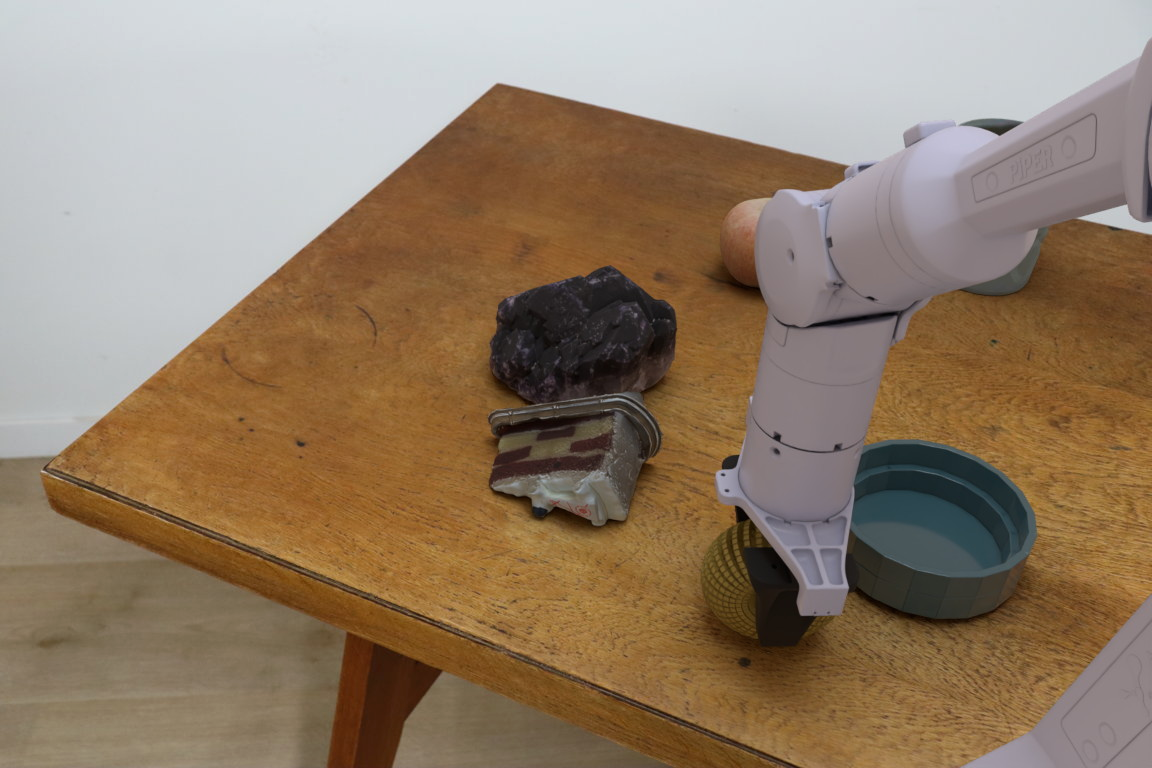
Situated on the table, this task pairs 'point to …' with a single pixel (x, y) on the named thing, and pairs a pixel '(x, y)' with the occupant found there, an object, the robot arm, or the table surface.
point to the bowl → (937, 529)
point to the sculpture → (737, 580)
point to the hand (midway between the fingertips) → (767, 603)
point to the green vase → (1023, 271)
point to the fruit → (742, 240)
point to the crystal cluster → (583, 338)
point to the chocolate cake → (575, 453)
